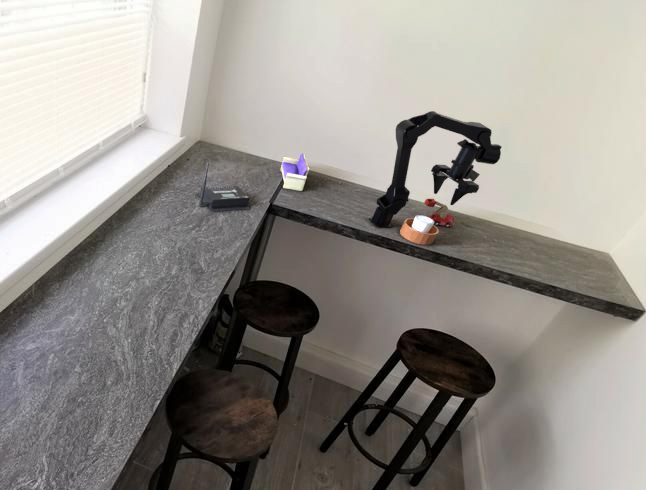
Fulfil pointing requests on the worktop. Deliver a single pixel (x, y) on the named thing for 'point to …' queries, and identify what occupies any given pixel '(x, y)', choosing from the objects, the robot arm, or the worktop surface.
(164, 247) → the worktop surface
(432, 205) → the toy fire truck
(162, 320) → the worktop surface
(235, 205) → the black wifi router
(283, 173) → the toy sofa
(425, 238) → the bowl
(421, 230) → the shot glass
